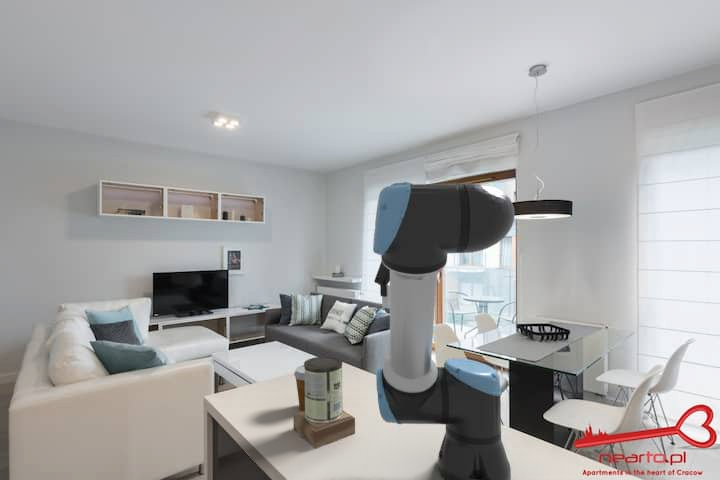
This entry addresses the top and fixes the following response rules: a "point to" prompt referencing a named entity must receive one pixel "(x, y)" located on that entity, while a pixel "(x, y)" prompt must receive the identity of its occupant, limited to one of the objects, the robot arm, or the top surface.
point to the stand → (324, 429)
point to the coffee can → (323, 389)
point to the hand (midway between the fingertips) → (403, 305)
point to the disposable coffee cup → (300, 386)
